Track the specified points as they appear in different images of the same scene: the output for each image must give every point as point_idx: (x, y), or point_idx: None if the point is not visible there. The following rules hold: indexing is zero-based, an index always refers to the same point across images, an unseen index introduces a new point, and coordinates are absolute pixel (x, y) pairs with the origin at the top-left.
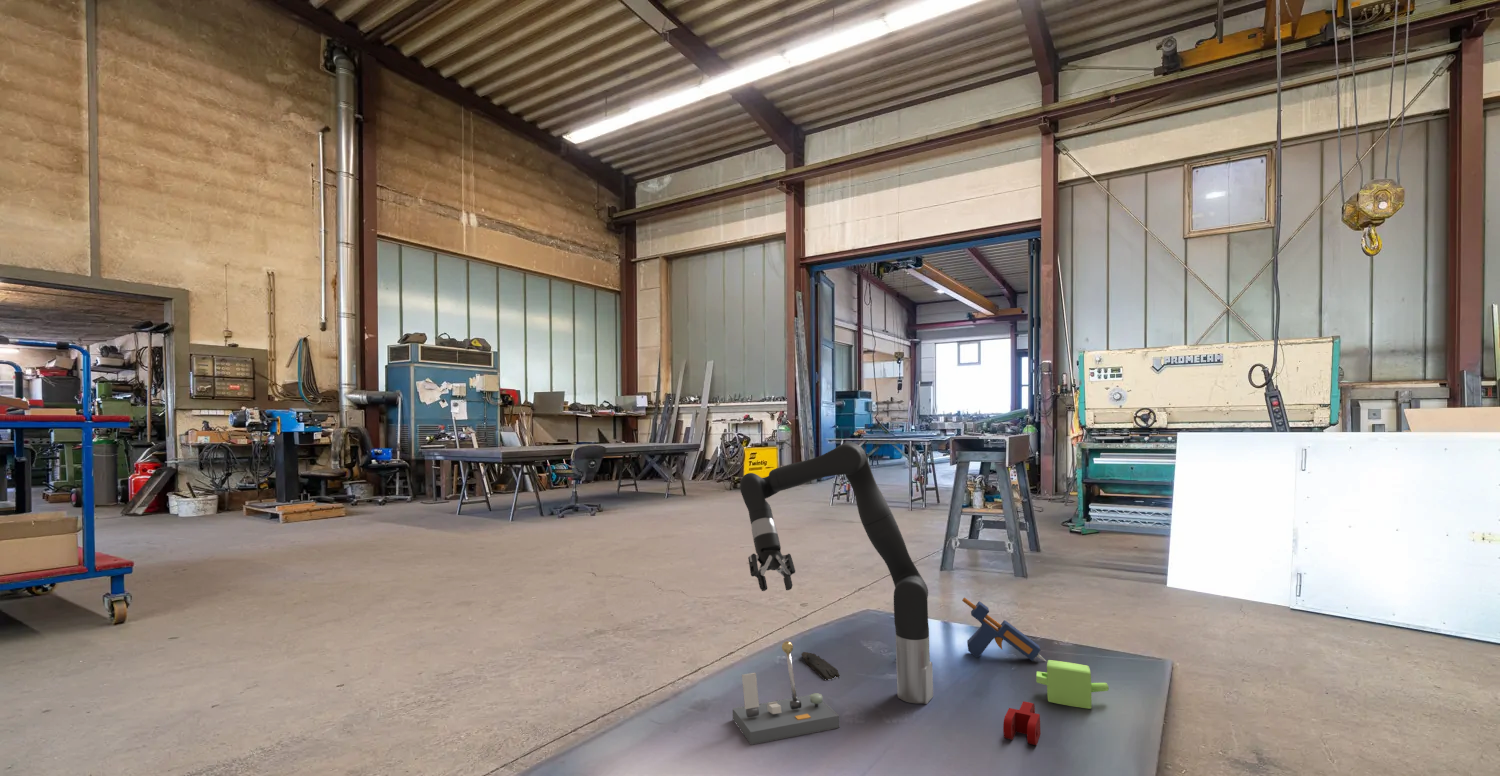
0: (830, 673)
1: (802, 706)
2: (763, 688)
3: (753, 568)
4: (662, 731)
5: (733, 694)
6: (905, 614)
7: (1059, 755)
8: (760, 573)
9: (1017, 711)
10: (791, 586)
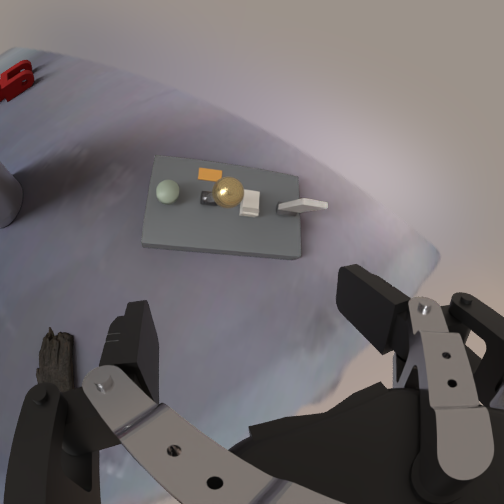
0: (55, 349)
1: (190, 207)
2: (199, 359)
3: (471, 370)
4: (374, 270)
5: (260, 354)
6: None
7: (34, 59)
8: (436, 304)
9: (4, 81)
10: (129, 304)
